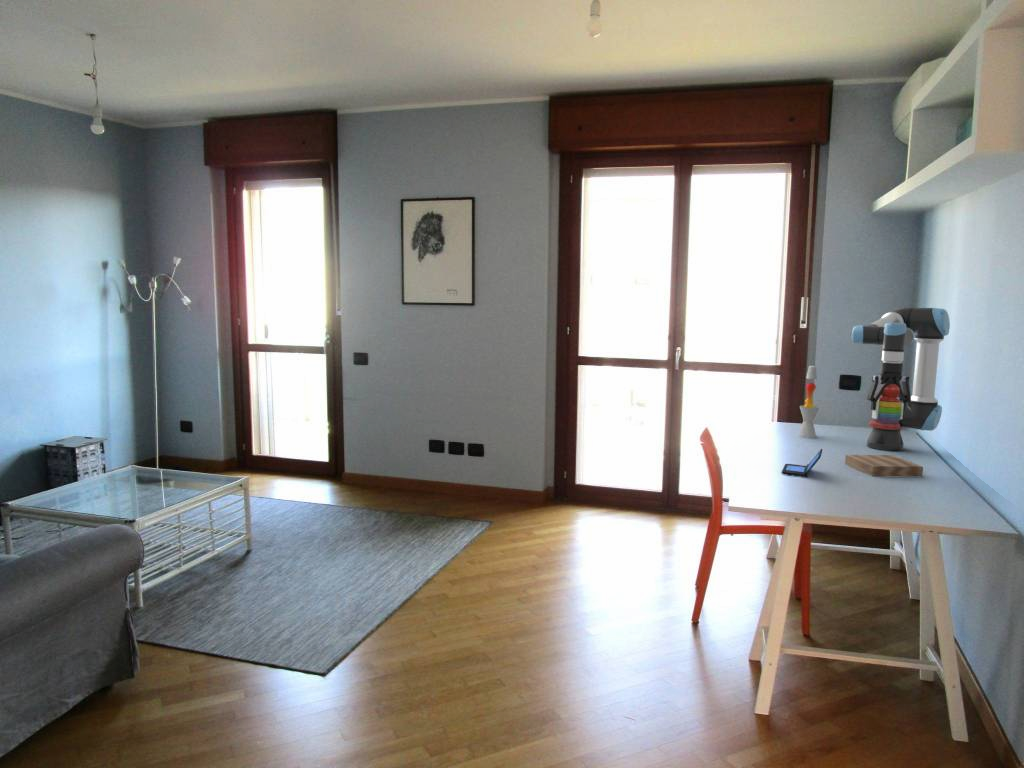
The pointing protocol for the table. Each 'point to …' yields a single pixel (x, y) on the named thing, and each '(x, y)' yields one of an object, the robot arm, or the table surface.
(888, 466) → the walnut plinth
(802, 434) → the lava lamp
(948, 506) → the table surface
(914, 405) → the robot arm
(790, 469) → the handheld game console
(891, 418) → the stacking bear
